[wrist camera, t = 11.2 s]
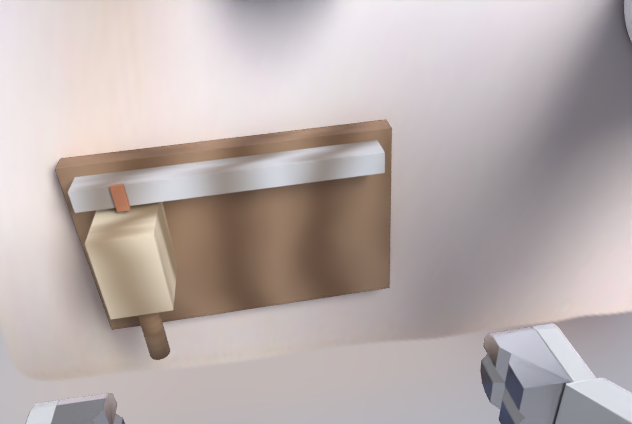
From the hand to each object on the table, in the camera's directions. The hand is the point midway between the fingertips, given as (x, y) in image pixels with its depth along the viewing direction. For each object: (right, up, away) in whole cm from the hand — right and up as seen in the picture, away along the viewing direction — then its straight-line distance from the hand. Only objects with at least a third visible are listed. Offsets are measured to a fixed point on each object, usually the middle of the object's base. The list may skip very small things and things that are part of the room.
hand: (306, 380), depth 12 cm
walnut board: (-5, +3, +29) cm, 30 cm away
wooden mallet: (-12, 0, +28) cm, 30 cm away
